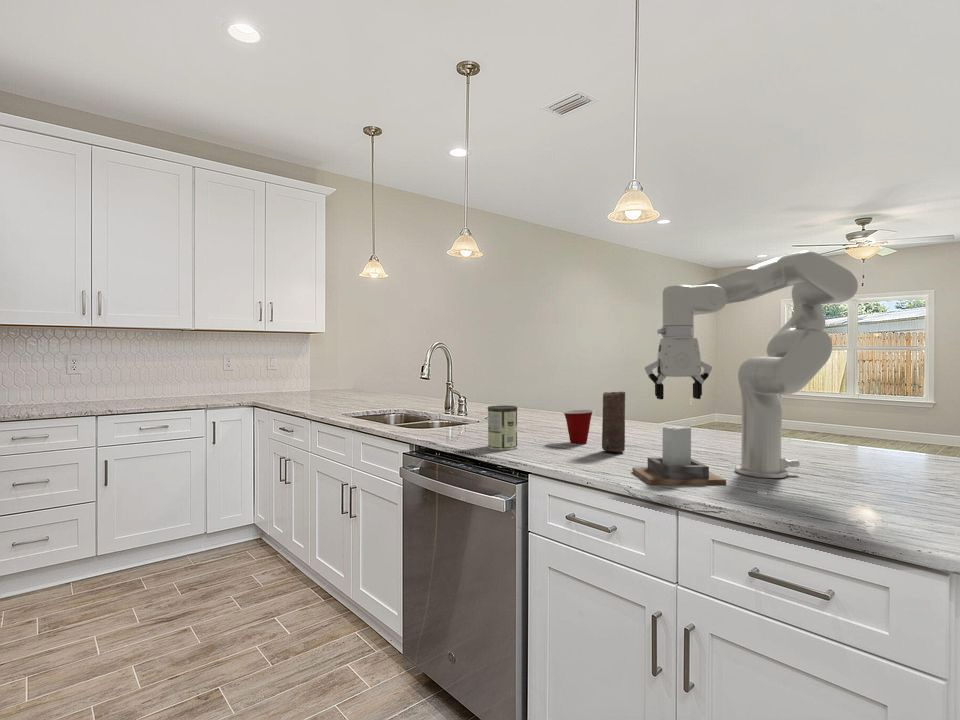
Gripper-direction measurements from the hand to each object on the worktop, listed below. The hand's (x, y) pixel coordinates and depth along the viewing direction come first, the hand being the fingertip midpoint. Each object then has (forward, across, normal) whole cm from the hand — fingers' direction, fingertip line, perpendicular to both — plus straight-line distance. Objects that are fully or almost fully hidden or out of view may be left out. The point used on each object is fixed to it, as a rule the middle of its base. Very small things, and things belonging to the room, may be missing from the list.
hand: (678, 398), depth 134 cm
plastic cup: (+21, -16, +53) cm, 59 cm away
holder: (+21, 0, 0) cm, 21 cm away
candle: (+21, -8, +35) cm, 41 cm away
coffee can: (+20, -44, +44) cm, 65 cm away
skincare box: (+20, -1, 0) cm, 20 cm away
